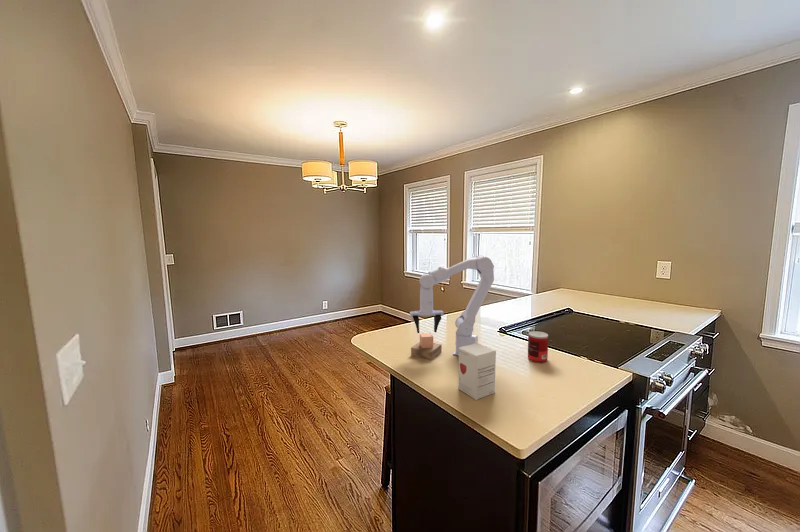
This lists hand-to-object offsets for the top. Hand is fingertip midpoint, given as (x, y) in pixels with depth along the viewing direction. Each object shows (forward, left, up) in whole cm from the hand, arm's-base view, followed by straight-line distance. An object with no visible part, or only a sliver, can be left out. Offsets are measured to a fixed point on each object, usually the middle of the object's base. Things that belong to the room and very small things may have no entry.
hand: (426, 332), depth 143 cm
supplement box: (-27, +25, -10) cm, 38 cm away
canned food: (-45, -12, -10) cm, 48 cm away
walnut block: (0, 0, -10) cm, 10 cm away
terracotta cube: (0, 0, -6) cm, 6 cm away
